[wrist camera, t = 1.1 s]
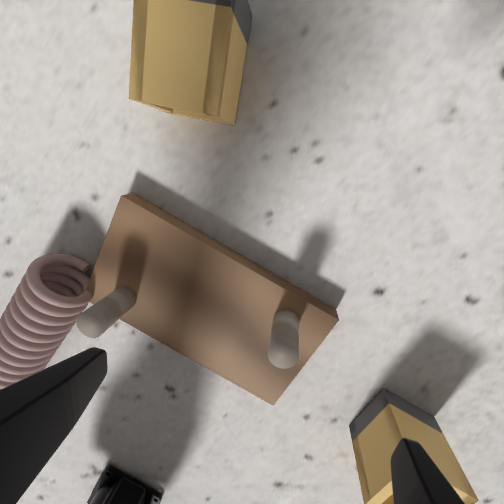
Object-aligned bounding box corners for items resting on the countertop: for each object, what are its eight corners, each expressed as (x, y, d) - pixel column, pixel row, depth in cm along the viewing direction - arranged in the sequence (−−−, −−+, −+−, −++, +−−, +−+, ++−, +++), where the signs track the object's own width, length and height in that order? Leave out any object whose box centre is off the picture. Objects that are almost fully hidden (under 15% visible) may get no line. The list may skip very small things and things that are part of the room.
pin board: (274, 391, 25) (268, 453, 19) (94, 290, 24) (39, 325, 19) (336, 309, 22) (348, 356, 17) (133, 193, 21) (80, 203, 16)
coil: (13, 258, 20) (-64, 408, 25) (65, 306, 19) (-25, 445, 25) (71, 244, 24) (-6, 374, 30) (113, 283, 24) (28, 406, 30)
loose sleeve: (396, 452, 25) (426, 539, 19) (349, 425, 25) (364, 504, 19) (434, 417, 23) (478, 500, 17) (383, 388, 23) (411, 462, 17)
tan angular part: (236, -35, 13) (215, 115, 15) (252, 15, 17) (234, 125, 19) (136, -50, 13) (128, 98, 15) (176, 2, 18) (166, 112, 19)
